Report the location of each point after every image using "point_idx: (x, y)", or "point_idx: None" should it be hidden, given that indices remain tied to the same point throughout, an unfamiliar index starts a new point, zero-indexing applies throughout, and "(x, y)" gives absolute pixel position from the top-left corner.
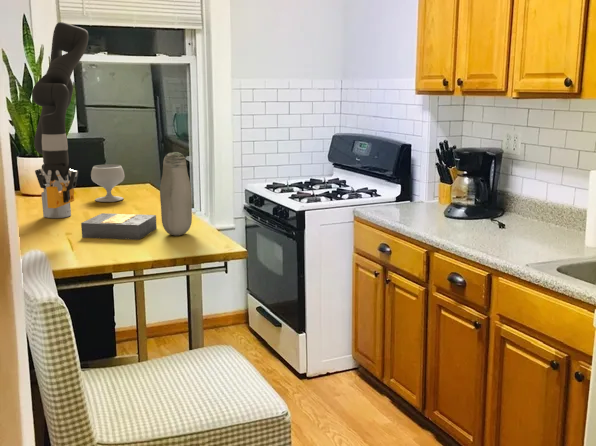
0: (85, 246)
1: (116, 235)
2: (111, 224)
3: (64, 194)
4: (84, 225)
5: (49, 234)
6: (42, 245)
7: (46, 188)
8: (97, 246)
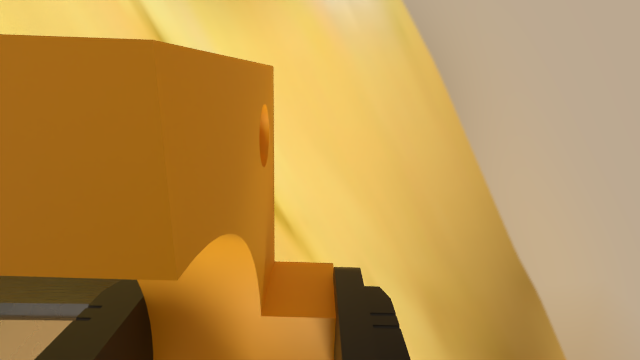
0: None
1: None
2: (37, 301)
3: (93, 323)
4: None
5: (419, 294)
6: (358, 98)
7: (168, 44)
8: None
